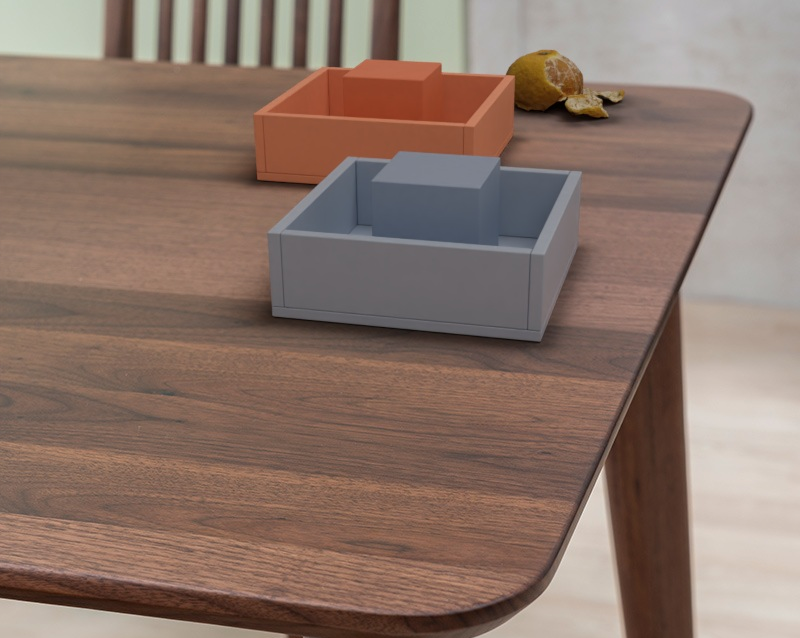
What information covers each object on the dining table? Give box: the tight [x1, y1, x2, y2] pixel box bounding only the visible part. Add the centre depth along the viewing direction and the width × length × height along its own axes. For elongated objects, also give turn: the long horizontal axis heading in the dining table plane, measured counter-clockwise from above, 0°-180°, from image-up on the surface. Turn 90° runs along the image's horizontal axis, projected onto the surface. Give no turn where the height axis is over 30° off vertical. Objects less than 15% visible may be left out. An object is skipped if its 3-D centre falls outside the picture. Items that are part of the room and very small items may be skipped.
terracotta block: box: [343, 58, 443, 122], centre depth 78 cm, size 5×5×5 cm
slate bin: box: [266, 157, 583, 343], centre depth 60 cm, size 12×12×4 cm
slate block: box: [371, 151, 502, 246], centre depth 59 cm, size 5×5×5 cm
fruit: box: [505, 49, 626, 118], centre depth 90 cm, size 8×8×4 cm
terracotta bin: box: [252, 66, 515, 185], centre depth 79 cm, size 13×13×4 cm
